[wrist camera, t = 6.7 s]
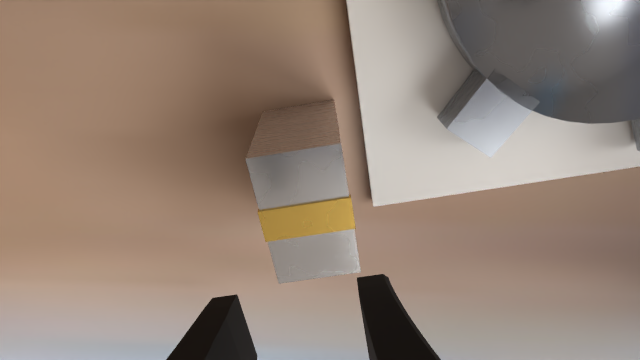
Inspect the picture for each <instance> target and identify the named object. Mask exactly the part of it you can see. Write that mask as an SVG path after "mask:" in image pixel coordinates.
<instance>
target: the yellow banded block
mask: <svg viewBox="0 0 640 360" xmlns="http://www.w3.org/2000/svg"><path fill="white" fill-rule="evenodd" d="M245 159H246V163H247V167H248V170H249V174H250V178H251V182H252V185H253V189H254V193H255V197H256V200H257V204H258V215H259V219H260V223H261V226H262V230H263V234H264V238H265V241H266V242H268V245H269V249H270V252H271V256H272V260H273V263H274V267H275V271H276V275H277V278H278V282H279V284H280V283H287V282H294V281H301V280H308V279H316V278H323V277H330V276H337V275H344V274H351V273H358V272H361V269H360V262H359V256H358V249H357V243H356V236H355V230H354V229H356V228H355V221H354V215H353V208H352V202H351V196H350V195H349V191H348V185H347V178H346V172H345V165H344V159H343V153H342V146H341V140H340V134H339V127H338V121H337V114H336V108H335V102H334V100H329V101H323V102H317V103H311V104H305V105H299V106H293V107H287V108H281V109H275V110H269V111H263V113H262V115H261V118H260V121H259V124H258V126H257V129H256V132H255V134H254V137H253V140H252V142H251V145H250V148H249V150H248V153H247V156H246V158H245Z"/></svg>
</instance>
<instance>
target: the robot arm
mask: <svg viewBox="0 0 640 360" xmlns="http://www.w3.org/2000/svg"><path fill="white" fill-rule="evenodd" d="M357 282H358V290H359V298H360V304H361V310H362V317H363V323H364V329H365V335H366V341H367V347H368V353H369V359H370V360H441V359H440V358H439V357H438V355H437V354H436V353H435V352H434V350H433V349H432V348H431V346H430V345H429V344H428V342H427V341H426V339H425V338H424V337H423V335H422V334H421V332H420V331H419V330H418V328H417V327H416V326H415V324H414V323H413V321H412V320H411V318H410V317H409V315H408V313H407V312H406V310H405V309H404V307H403V305H402V304H401V302H400V300H399V299H398V297H397V295H396V293H395V291H394V290H393V287H392V285H391V283H390V281H389V278H388V277H387V276H385V275H384V274H380V275H373V276H366V277H359V278H357ZM166 360H257V354H256V351H255V347H254V344H253V341H252V338H251V335H250V332H249V329H248V326H247V323H246V320H245V317H244V314H243V311H242V308H241V305H240V302H239V299H238V296H237V295H231V296H224V297H217V298H212V299H211V301H210V302H209V303H208V304H207V306H206V307H205V308H204V310H203V311H202V312H201V314H200V315H199V316H198V318H197V319H196V321H195V322H194V323H193V325H192V326H191V327H190V329H189V330H188V331H187V333H186V334H185V335H184V337H183V338H182V340H181V341H180V342H179V344H178V345H177V346H176V348H175V349H174V350H173V352H172V353H171V354H170V355H169V357H168V358H167V359H166Z"/></svg>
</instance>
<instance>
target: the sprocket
mask: <svg viewBox="0 0 640 360" xmlns="http://www.w3.org/2000/svg"><path fill="white" fill-rule="evenodd" d="M437 2H438V5H439V9H440V12H441V15H442V19H443V21H444V24H445V26H446V28H447V30H448V32H449V35H450V37H451V39H452V41H453V43H454V44H455V46H456V47H457V49H458V51H459V52H460V54H461V55H462V57H463V58H464V60H465V61H466V62H467V63H468V64H469V65H470V67H471V68H472V69H473V71H472V73H471V74H470V75H469V77H468V78H467V79H466V80H465V82H464V83H463V84H462V86H461V87H460V88H459V89H458V91H457V92H456V93H455V95H454V96H453V97H452V98H451V100H450V101H449V102H448V103H447V105H446V106H445V107H444V109H443V110H442V111H441V112H440V114H439V115H438V116H437V118H438V119H439V121H440V122H441V123H442V124H443V125H444V127H445V128H446V129H447V130H449V131H450V132H452V133H454V134H455V135H457V136H458V137H460V138H461V139H463V140H464V141H466V142H467V143H469V144H470V145H472V146H473V147H475V148H476V149H478V150H479V151H481V152H483V153H484V154H486V155H487V156H489V157H490V158H491V157H492V156H493V155H494V154H495V153H496V152H497V150H498V149H499V148H500V147H501V146H502V145H503V144H504V142H505V141H506V140H507V139H508V138H509V137H510V136H511V134H512V133H513V132H514V131H515V130H516V129H517V128H518V126H519V125H520V124H521V123H522V122H523V121H524V120H525V118H526V117H527V116H528V115H529V114H530V113H531V112H532V111H534V112H537V113H539V114H542V115H544V116H547V117H551V118H555V119H559V120H563V121H568V122H578V123H587V124H596V123H616V122H623V121H630V120H631V124H632V129H633V134H634V139H635V143H636V148H637V150H638V151H640V0H437Z"/></svg>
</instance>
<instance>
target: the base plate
mask: <svg viewBox="0 0 640 360" xmlns="http://www.w3.org/2000/svg"><path fill="white" fill-rule="evenodd" d="M346 5H347V13H348V20H349V28H350V36H351V43H352V51H353V59H354V66H355V74H356V82H357V89H358V97H359V105H360V112H361V120H362V128H363V135H364V143H365V150H366V158H367V166H368V173H369V181H370V189H371V196H372V203H373V207H375V206H381V205H388V204H395V203H401V202H408V201H415V200H421V199H428V198H434V197H441V196H448V195H454V194H461V193H468V192H474V191H481V190H487V189H494V188H501V187H507V186H514V185H520V184H527V183H534V182H540V181H547V180H554V179H560V178H567V177H573V176H580V175H587V174H593V173H600V172H607V171H613V170H620V169H626V168H633V167H640V151H638V150H637V148H636V143H635V139H634V134H633V129H632V124H631V120H630V121H623V122H616V123H596V124H587V123H578V122H568V121H563V120H559V119H555V118H551V117H547V116H544V115H542V114H539V113H537V112H534V111H532V112H531V113H530V114H529V115H528V116H527V117H526V118H525V120H524V121H523V122H522V123H521V124H520V125H519V126H518V128H517V129H516V130H515V131H514V132H513V133H512V134H511V136H510V137H509V138H508V139H507V140H506V141H505V142H504V144H503V145H502V146H501V147H500V148H499V149H498V150H497V152H496V153H495V154H494V155H493V156H492V157H491V158H490V157H489V156H487V155H486V154H484V153H483V152H481V151H479V150H478V149H476V148H475V147H473V146H472V145H470V144H469V143H467V142H466V141H464V140H463V139H461V138H460V137H458V136H457V135H455V134H454V133H452V132H450V131H449V130H447V129H446V128H445V127H444V125H443V124H442V123H441V122H440V121H439V119H438V118H437V116H438V115H439V114H440V112H441V111H442V110H443V109H444V107H445V106H446V105H447V103H448V102H449V101H450V100H451V98H452V97H453V96H454V95H455V93H456V92H457V91H458V89H459V88H460V87H461V86H462V84H463V83H464V82H465V80H466V79H467V78H468V77H469V75H470V74H471V73H472V71H473V69H472V68H471V67H470V65H469V64H468V63H467V62H466V61H465V60H464V58H463V57H462V55H461V54H460V52H459V51H458V49H457V47H456V46H455V44H454V43H453V41H452V39H451V37H450V35H449V32H448V30H447V28H446V26H445V24H444V21H443V19H442V15H441V12H440V9H439V5H438V2H437V0H346Z"/></svg>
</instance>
